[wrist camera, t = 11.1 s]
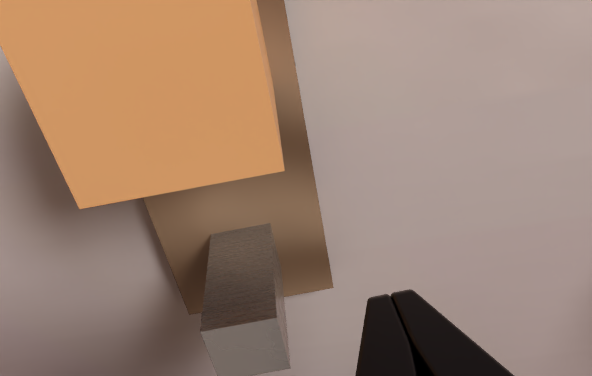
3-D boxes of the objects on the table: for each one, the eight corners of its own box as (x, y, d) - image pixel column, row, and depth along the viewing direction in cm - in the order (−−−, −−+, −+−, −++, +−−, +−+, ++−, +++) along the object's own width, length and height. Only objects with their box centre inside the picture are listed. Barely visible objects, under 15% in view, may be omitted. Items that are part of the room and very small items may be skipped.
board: (330, 273, 24) (333, 287, 23) (191, 299, 24) (189, 314, 23) (265, -98, 16) (267, -98, 15) (53, -56, 16) (42, -54, 15)
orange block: (272, 84, 18) (285, 171, 12) (133, 110, 18) (79, 208, 12) (241, -77, 15) (237, -62, 9) (76, -45, 15) (-27, -11, 9)
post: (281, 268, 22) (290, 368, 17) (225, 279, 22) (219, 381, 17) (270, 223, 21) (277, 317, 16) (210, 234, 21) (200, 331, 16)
